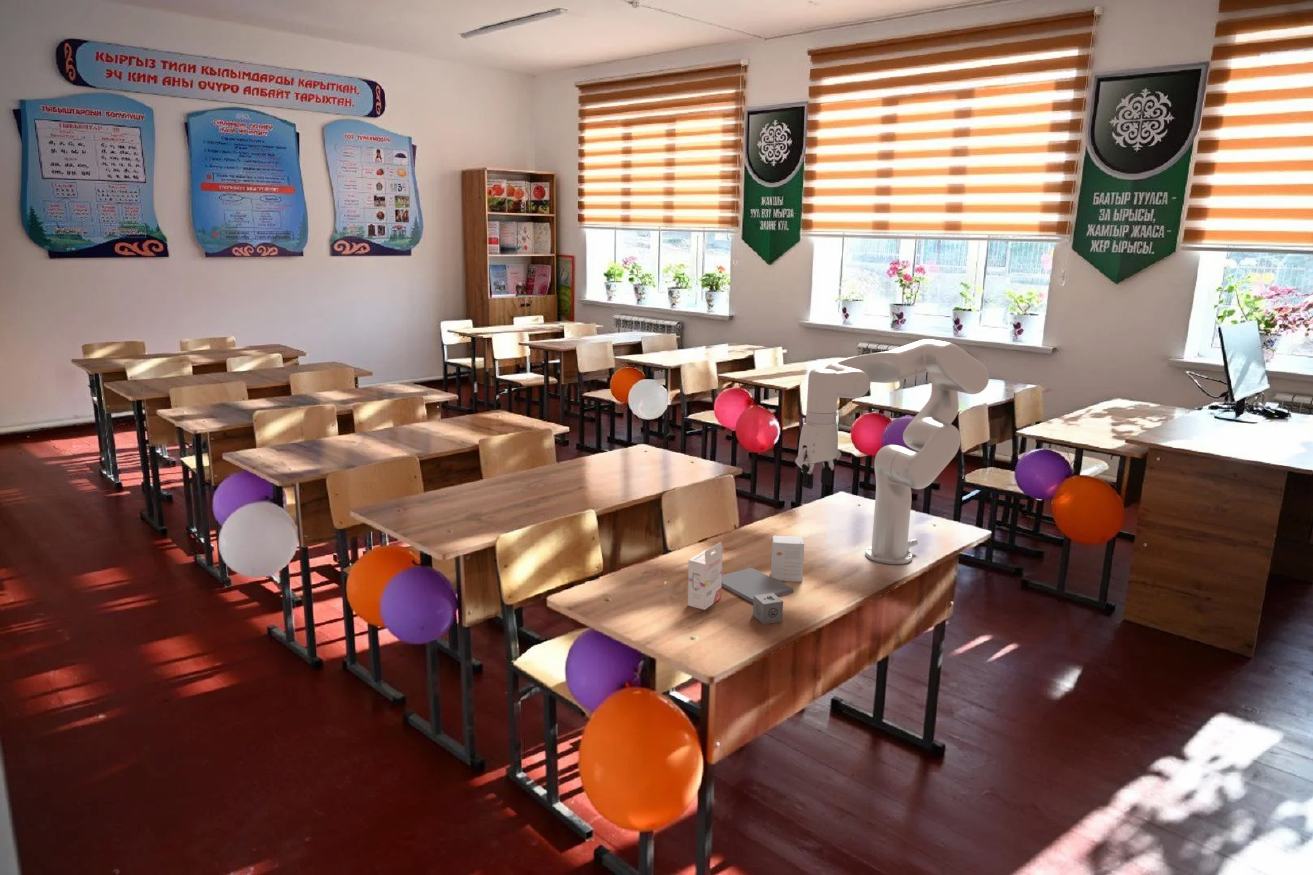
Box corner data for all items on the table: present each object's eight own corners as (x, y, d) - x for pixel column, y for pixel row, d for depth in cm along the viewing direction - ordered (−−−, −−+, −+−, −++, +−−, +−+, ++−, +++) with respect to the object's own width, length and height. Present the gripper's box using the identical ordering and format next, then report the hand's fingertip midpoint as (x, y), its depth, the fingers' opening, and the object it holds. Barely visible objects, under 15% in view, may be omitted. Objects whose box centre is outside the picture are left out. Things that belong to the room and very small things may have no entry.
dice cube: (782, 621, 199) (783, 601, 198) (762, 624, 197) (763, 604, 196) (771, 612, 203) (772, 592, 202) (752, 615, 202) (753, 595, 200)
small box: (801, 574, 227) (803, 536, 224) (802, 582, 221) (804, 543, 219) (770, 572, 227) (772, 534, 225) (771, 580, 222) (773, 542, 219)
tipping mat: (751, 571, 228) (751, 567, 228) (793, 591, 215) (793, 588, 215) (712, 581, 221) (712, 577, 221) (753, 603, 208) (753, 599, 208)
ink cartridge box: (703, 593, 213) (705, 537, 210) (721, 598, 211) (723, 541, 207) (686, 605, 206) (688, 547, 203) (704, 610, 204) (706, 551, 200)
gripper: (834, 411, 227) (830, 477, 232) (785, 418, 218) (782, 487, 222) (855, 417, 221) (850, 484, 226) (806, 424, 212) (802, 494, 216)
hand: (816, 485), depth 224 cm, fingers open, 5 cm apart
